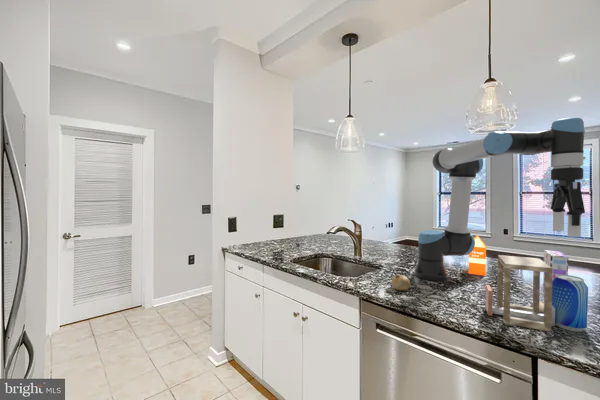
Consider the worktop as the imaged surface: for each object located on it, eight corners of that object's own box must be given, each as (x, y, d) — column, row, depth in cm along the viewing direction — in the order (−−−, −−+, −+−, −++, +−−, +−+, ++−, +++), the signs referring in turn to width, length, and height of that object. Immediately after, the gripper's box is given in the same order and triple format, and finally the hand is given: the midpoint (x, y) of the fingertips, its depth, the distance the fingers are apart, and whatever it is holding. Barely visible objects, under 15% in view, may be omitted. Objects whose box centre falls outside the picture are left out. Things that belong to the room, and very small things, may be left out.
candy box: (568, 295, 116) (569, 256, 116) (549, 292, 119) (550, 255, 119) (559, 286, 128) (560, 250, 127) (542, 283, 131) (543, 249, 131)
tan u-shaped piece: (488, 315, 97) (488, 290, 97) (485, 307, 103) (485, 284, 103) (555, 326, 89) (556, 299, 89) (548, 317, 95) (548, 292, 95)
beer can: (543, 320, 94) (545, 273, 93) (566, 319, 95) (568, 273, 94) (569, 333, 86) (571, 282, 85) (594, 332, 86) (596, 281, 86)
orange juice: (485, 271, 152) (485, 235, 151) (485, 275, 144) (486, 237, 143) (468, 269, 156) (469, 233, 155) (468, 273, 148) (468, 236, 148)
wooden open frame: (504, 323, 92) (505, 263, 92) (497, 307, 105) (497, 254, 104) (551, 331, 87) (552, 268, 86) (537, 313, 99) (539, 258, 98)
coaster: (535, 313, 100) (535, 310, 100) (527, 302, 110) (527, 300, 110) (576, 319, 95) (576, 317, 95) (564, 307, 104) (564, 305, 104)
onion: (396, 285, 130) (396, 270, 130) (413, 289, 124) (413, 273, 124) (388, 289, 124) (388, 274, 124) (405, 294, 119) (405, 277, 119)
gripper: (601, 163, 76) (600, 240, 77) (567, 170, 98) (566, 229, 99) (565, 164, 80) (564, 238, 80) (540, 170, 102) (539, 228, 102)
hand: (565, 233), depth 90 cm, fingers open, 13 cm apart
